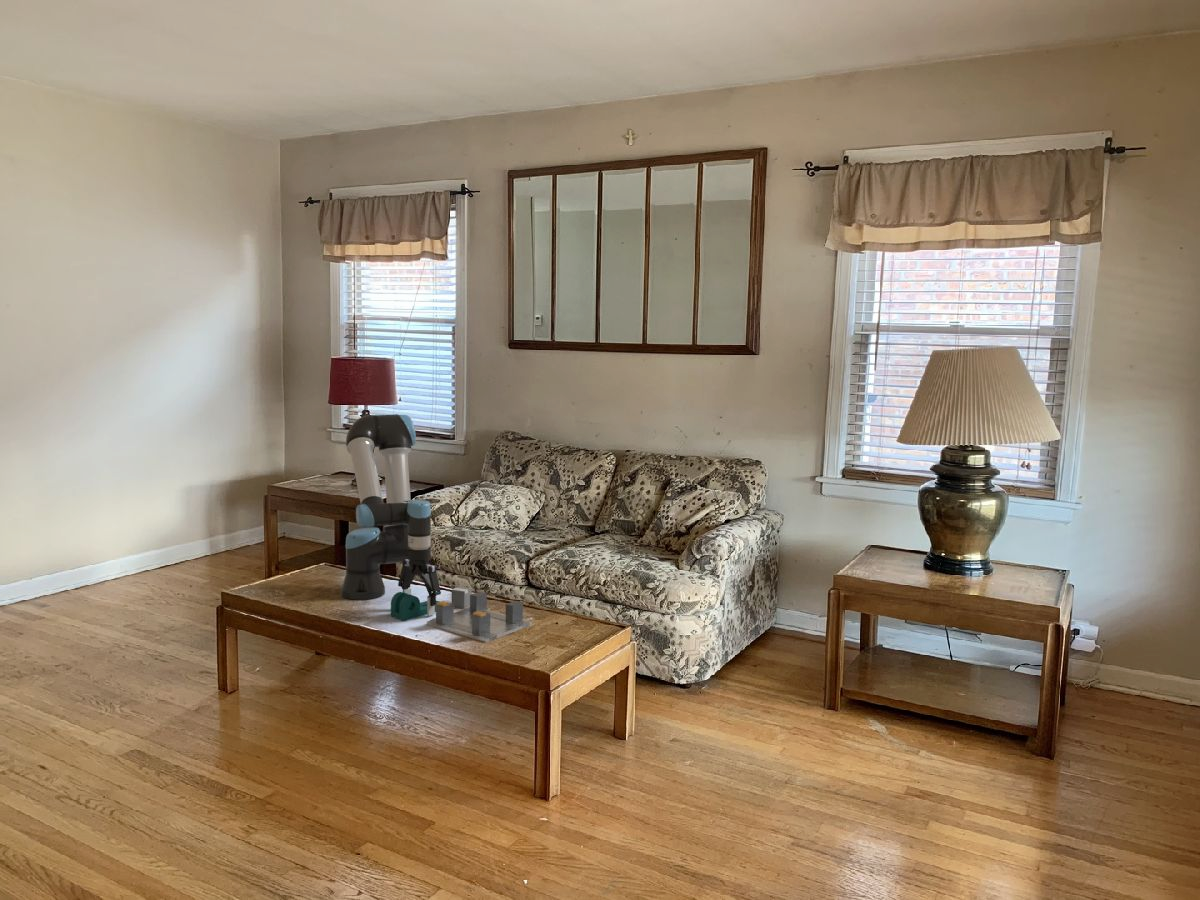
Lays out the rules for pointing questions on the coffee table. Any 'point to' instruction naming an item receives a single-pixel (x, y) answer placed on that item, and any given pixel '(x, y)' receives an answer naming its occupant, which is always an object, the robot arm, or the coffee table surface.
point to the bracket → (407, 606)
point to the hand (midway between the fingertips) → (419, 611)
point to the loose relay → (461, 597)
